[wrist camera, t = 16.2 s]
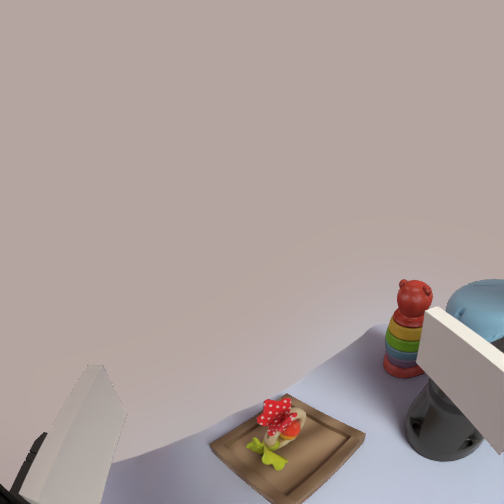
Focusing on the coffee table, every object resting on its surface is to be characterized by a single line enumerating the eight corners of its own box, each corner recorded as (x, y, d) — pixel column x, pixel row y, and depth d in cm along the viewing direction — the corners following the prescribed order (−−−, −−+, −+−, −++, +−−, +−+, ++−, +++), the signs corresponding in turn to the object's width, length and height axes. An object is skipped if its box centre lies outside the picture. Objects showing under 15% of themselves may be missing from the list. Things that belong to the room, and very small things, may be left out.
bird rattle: (275, 437, 38) (233, 457, 31) (290, 378, 38) (246, 392, 31) (307, 454, 33) (267, 480, 27) (327, 393, 33) (286, 414, 27)
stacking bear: (438, 361, 45) (453, 279, 40) (411, 387, 40) (428, 299, 36) (399, 343, 54) (406, 266, 49) (370, 364, 50) (376, 282, 45)
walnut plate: (363, 441, 32) (365, 433, 32) (287, 514, 23) (286, 509, 22) (287, 401, 44) (286, 393, 44) (212, 451, 35) (209, 444, 34)
